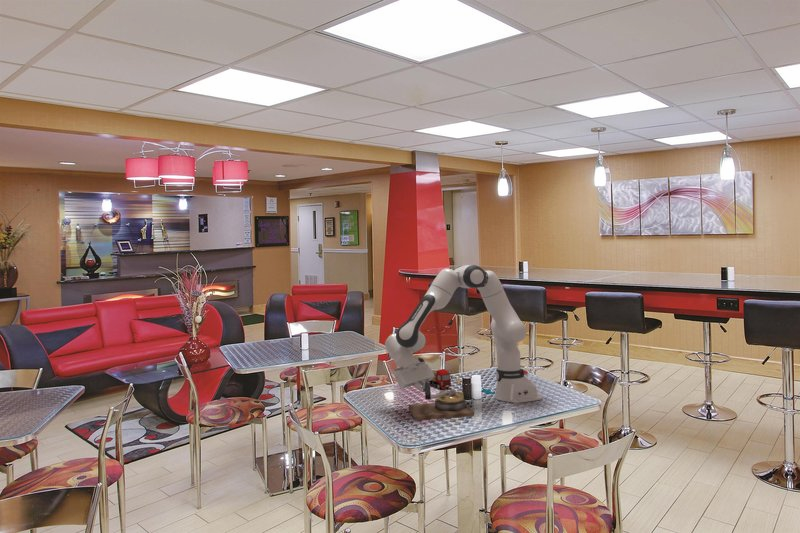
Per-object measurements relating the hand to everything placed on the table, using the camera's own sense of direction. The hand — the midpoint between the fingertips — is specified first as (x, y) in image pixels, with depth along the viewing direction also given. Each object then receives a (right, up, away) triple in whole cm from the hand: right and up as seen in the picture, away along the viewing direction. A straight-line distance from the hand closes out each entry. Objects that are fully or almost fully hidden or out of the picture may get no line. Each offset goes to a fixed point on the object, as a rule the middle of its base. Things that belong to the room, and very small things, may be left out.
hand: (424, 391), depth 230 cm
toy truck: (+9, -10, +50) cm, 52 cm away
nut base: (+8, -11, +6) cm, 14 cm away
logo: (+29, -9, +48) cm, 57 cm away
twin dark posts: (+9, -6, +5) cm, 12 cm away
